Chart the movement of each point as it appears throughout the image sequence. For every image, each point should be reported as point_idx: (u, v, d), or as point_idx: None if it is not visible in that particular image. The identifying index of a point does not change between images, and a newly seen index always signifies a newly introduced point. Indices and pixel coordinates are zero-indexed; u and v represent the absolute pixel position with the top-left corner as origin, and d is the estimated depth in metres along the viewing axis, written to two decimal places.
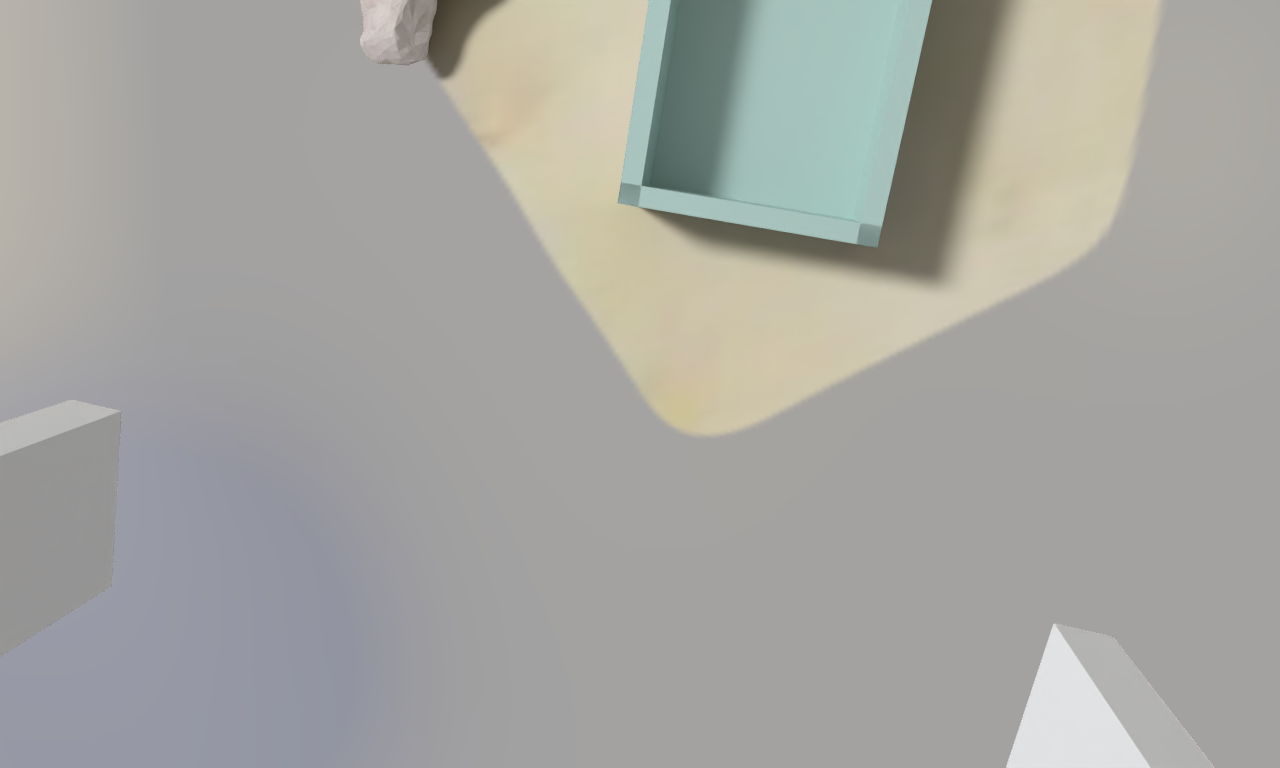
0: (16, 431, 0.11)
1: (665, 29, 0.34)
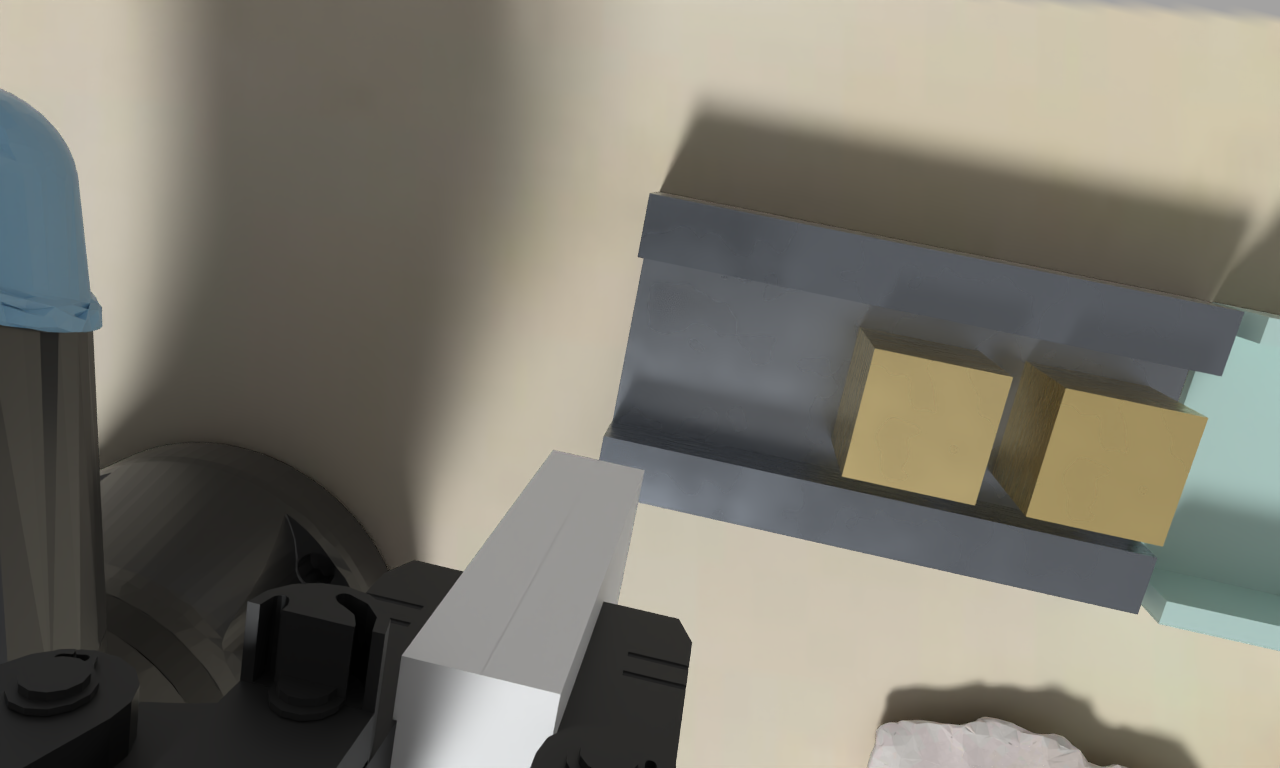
0: (554, 482, 0.13)
1: None
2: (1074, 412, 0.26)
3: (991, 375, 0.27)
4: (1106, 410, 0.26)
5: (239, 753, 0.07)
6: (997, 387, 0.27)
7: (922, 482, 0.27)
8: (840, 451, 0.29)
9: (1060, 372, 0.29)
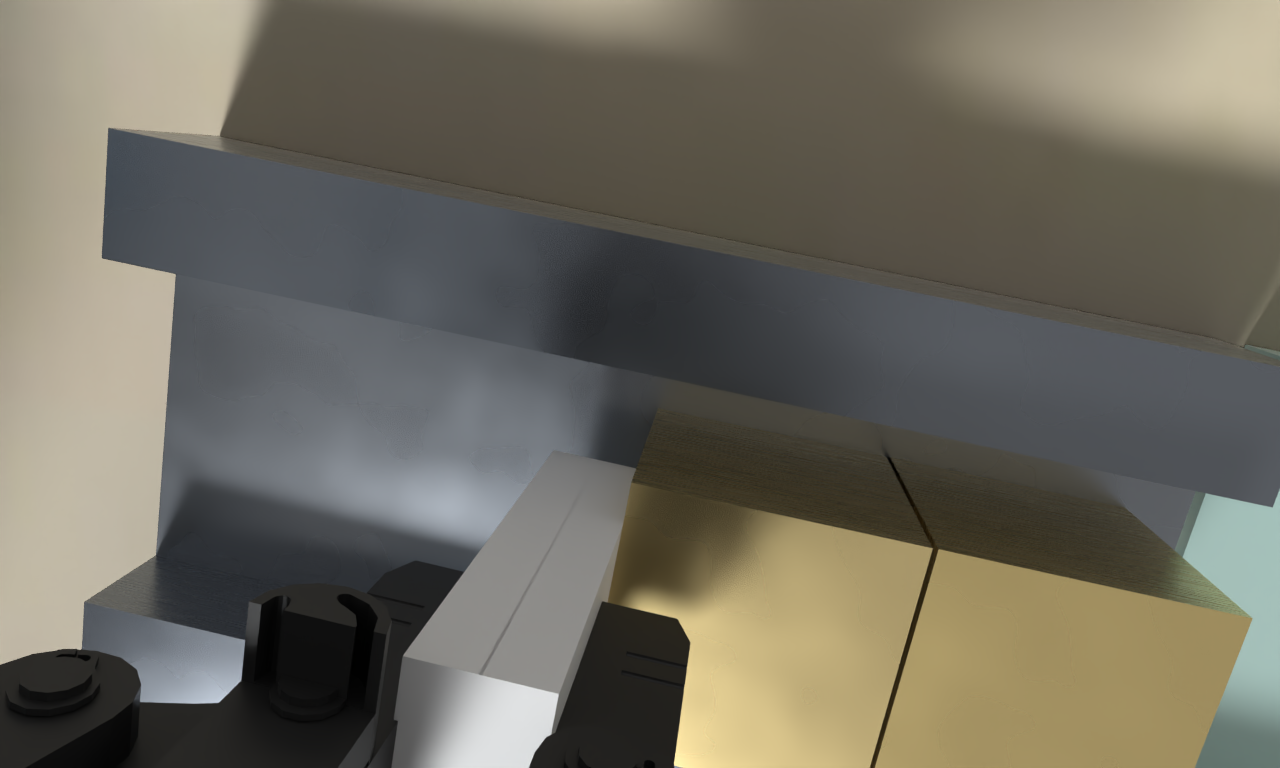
0: (555, 482, 0.13)
1: None
2: (958, 601, 0.12)
3: (885, 544, 0.12)
4: (1027, 598, 0.12)
5: (240, 753, 0.07)
6: (899, 569, 0.12)
7: (746, 760, 0.13)
8: None
9: (950, 486, 0.15)
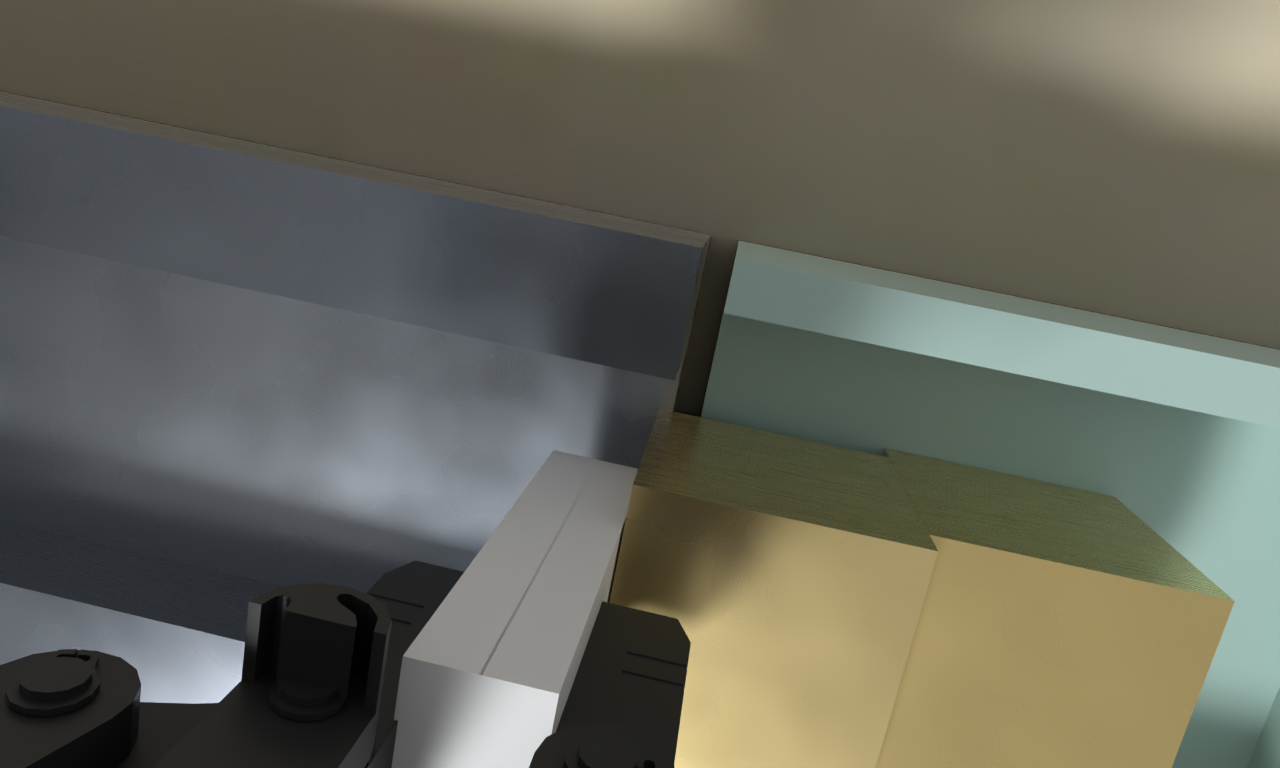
0: (555, 482, 0.13)
1: None
2: (949, 585, 0.12)
3: (890, 546, 0.12)
4: (1016, 582, 0.12)
5: (240, 754, 0.07)
6: (903, 572, 0.12)
7: (749, 765, 0.13)
8: None
9: (943, 475, 0.15)
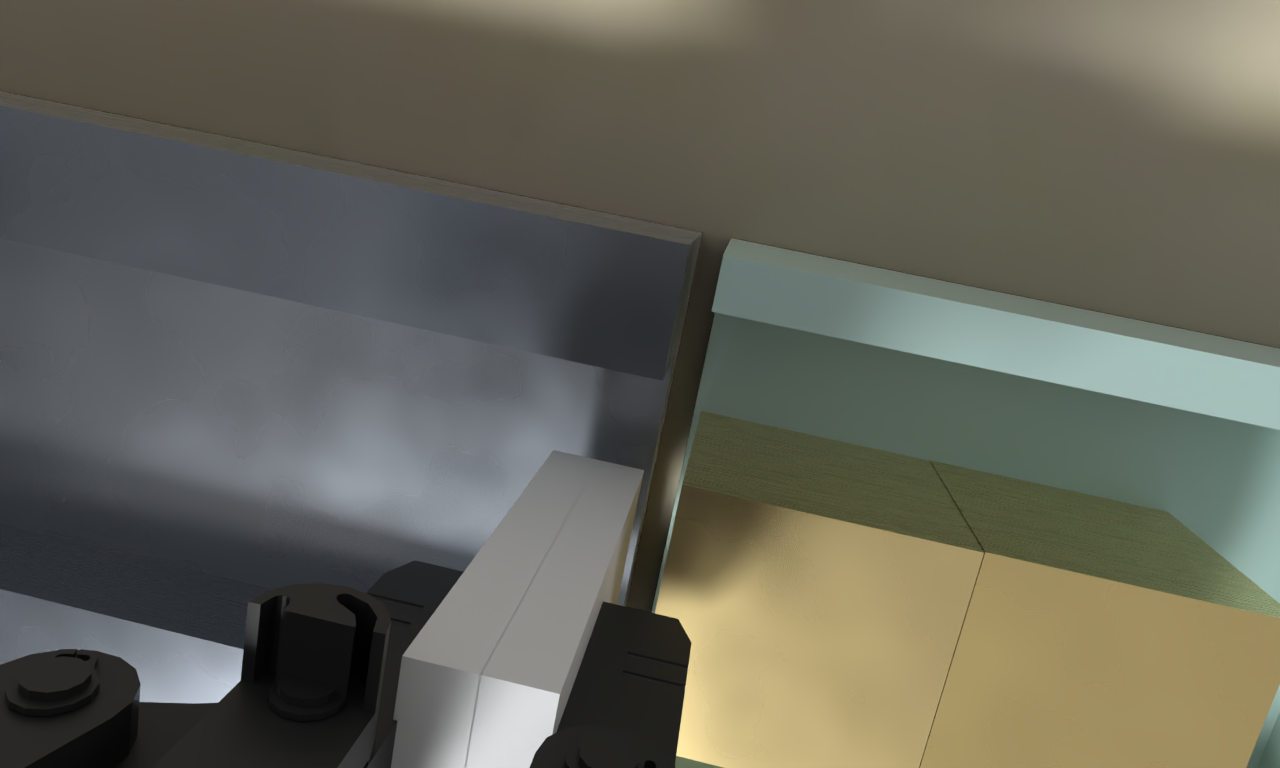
0: (555, 482, 0.13)
1: None
2: (1005, 604, 0.12)
3: (936, 548, 0.12)
4: (1075, 601, 0.12)
5: (239, 754, 0.07)
6: (949, 573, 0.12)
7: (793, 762, 0.13)
8: None
9: (991, 489, 0.15)
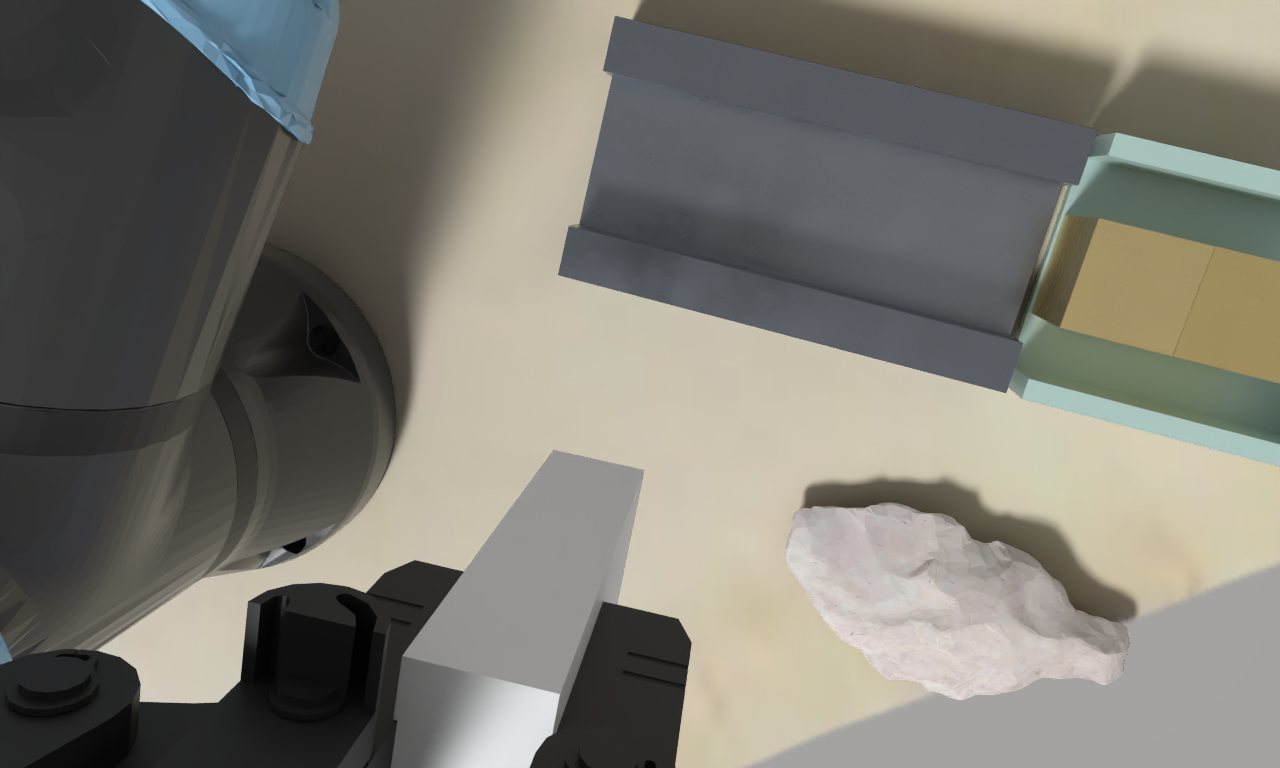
0: (555, 482, 0.13)
1: (1170, 416, 0.34)
2: (1221, 267, 0.32)
3: (1196, 244, 0.32)
4: (1248, 266, 0.32)
5: (240, 753, 0.07)
6: (1201, 254, 0.32)
7: (1128, 334, 0.33)
8: (1052, 312, 0.34)
9: None
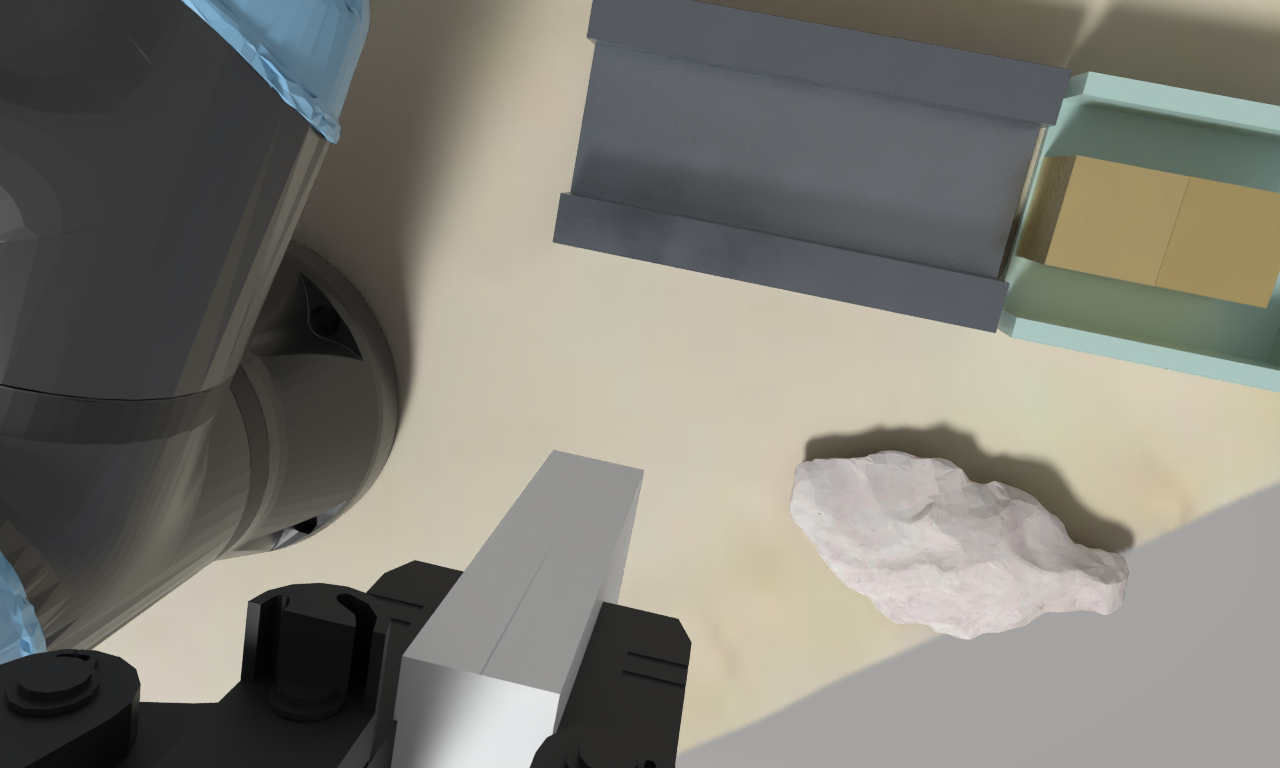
0: (554, 482, 0.13)
1: (1155, 346, 0.35)
2: (1197, 196, 0.33)
3: (1172, 175, 0.33)
4: (1223, 194, 0.33)
5: (239, 753, 0.07)
6: (1176, 185, 0.33)
7: (1111, 267, 0.34)
8: (1036, 251, 0.35)
9: None
